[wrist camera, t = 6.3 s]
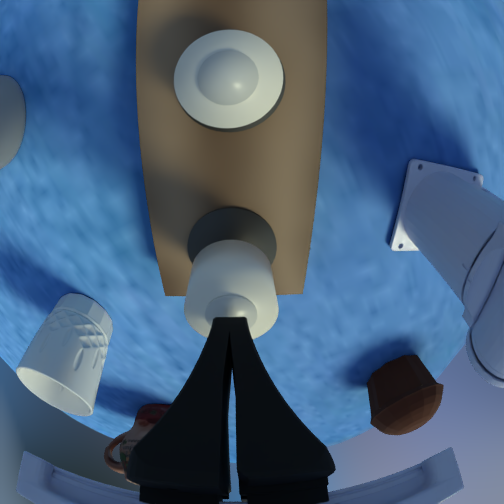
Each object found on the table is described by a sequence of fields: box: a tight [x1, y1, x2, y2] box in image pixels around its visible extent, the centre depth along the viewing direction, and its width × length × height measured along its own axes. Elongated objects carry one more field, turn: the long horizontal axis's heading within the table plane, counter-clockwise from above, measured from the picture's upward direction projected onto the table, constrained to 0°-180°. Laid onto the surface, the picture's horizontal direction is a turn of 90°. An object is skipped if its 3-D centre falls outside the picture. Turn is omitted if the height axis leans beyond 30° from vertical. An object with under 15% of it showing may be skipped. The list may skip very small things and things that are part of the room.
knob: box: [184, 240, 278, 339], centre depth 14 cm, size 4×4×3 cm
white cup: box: [16, 293, 113, 416], centre depth 20 cm, size 8×8×10 cm
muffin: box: [367, 355, 443, 435], centre depth 30 cm, size 12×11×10 cm
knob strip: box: [136, 0, 327, 296], centre depth 13 cm, size 10×28×3 cm, turn 179°
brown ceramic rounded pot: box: [104, 404, 171, 485], centre depth 32 cm, size 20×12×14 cm, turn 105°
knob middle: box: [174, 30, 283, 128], centre depth 10 cm, size 4×4×3 cm
